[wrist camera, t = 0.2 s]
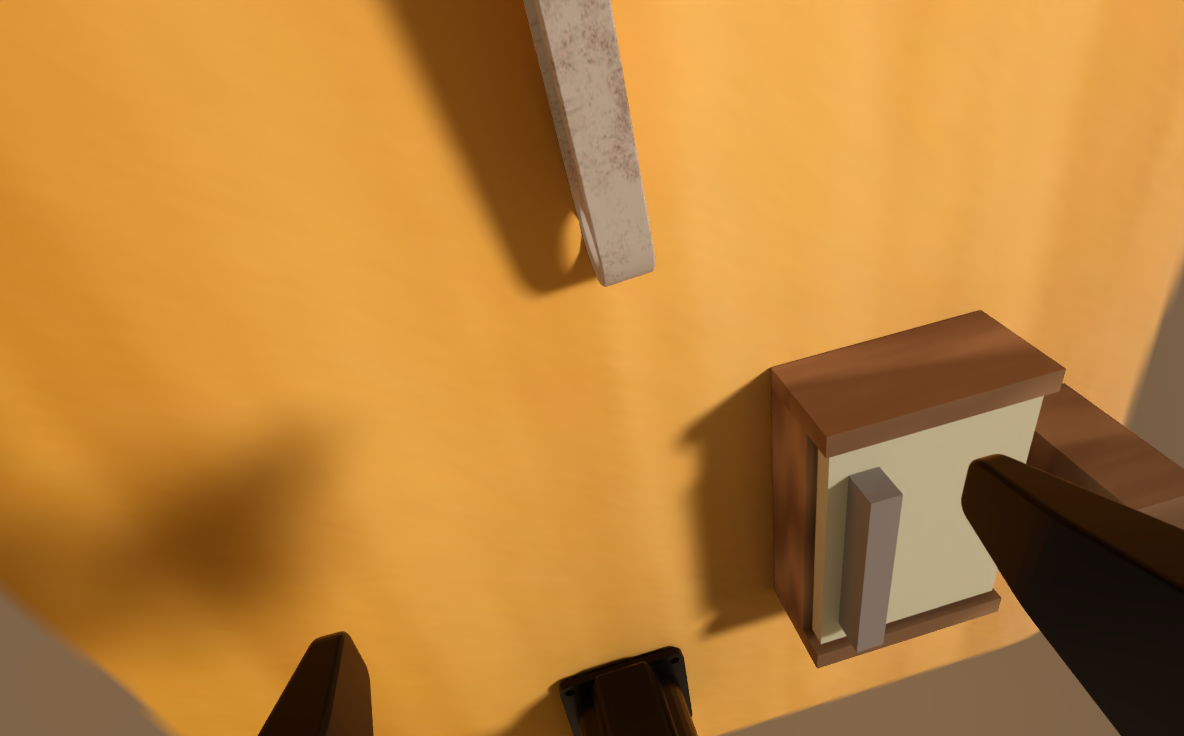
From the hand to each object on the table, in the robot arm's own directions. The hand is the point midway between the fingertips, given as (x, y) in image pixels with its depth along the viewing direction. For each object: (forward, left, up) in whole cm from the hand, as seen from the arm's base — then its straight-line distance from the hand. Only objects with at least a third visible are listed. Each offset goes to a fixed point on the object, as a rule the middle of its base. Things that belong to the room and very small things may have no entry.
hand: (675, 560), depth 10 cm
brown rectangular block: (-16, -20, -15) cm, 30 cm away
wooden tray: (-16, -12, -15) cm, 25 cm away
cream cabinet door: (-16, -12, -11) cm, 23 cm away
